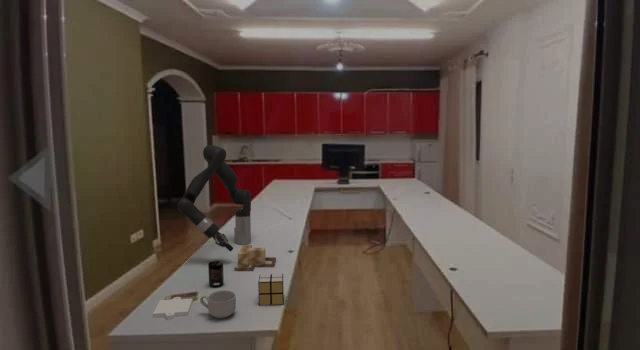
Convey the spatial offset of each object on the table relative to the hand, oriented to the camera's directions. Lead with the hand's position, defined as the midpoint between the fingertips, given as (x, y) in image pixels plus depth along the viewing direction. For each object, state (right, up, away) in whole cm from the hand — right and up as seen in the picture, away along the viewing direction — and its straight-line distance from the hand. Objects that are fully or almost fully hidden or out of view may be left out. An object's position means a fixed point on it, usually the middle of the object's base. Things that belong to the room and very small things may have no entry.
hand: (232, 249), depth 229 cm
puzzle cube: (+26, -13, -47) cm, 55 cm away
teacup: (+7, -15, -60) cm, 63 cm away
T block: (+11, -8, +1) cm, 13 cm away
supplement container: (-1, -11, -30) cm, 32 cm away
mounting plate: (-12, -15, -55) cm, 59 cm away
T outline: (+13, -7, +1) cm, 15 cm away
